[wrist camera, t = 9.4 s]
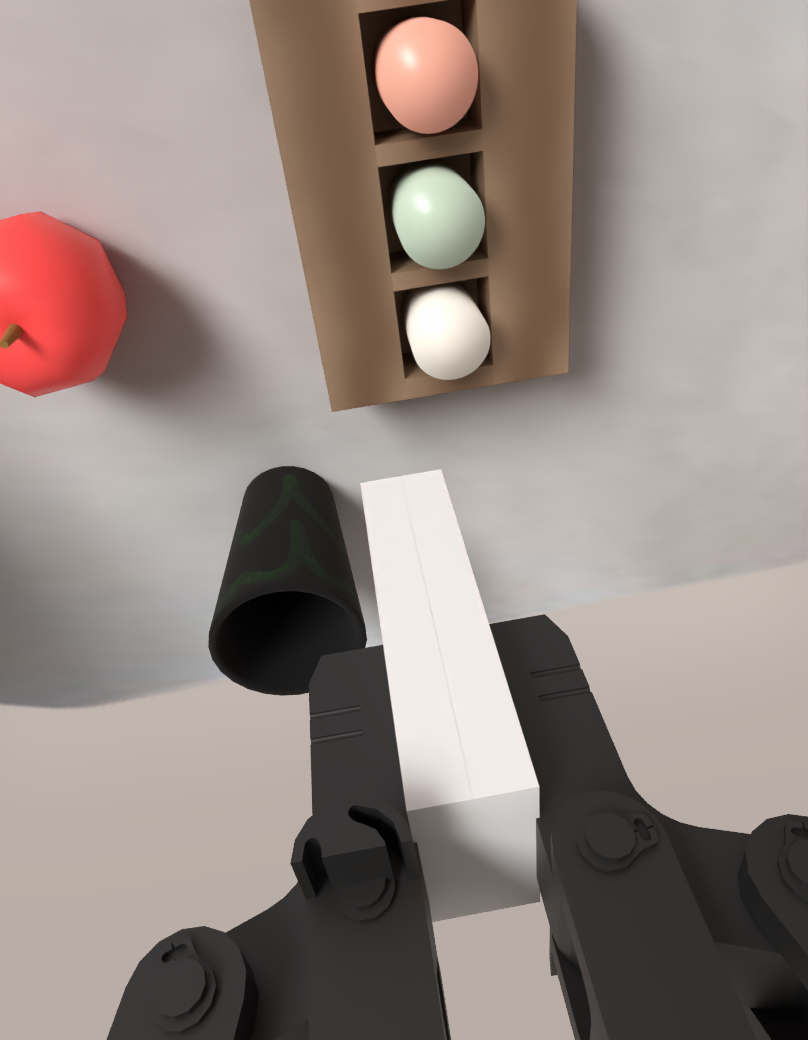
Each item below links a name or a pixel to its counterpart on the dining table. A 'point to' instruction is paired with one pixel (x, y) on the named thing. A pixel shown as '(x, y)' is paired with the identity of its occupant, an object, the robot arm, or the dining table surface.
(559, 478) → the dining table surface
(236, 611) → the cup
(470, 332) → the white egg
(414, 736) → the robot arm
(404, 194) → the pale green rounded piece
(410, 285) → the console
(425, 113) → the coral button
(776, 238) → the dining table surface
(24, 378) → the apple
